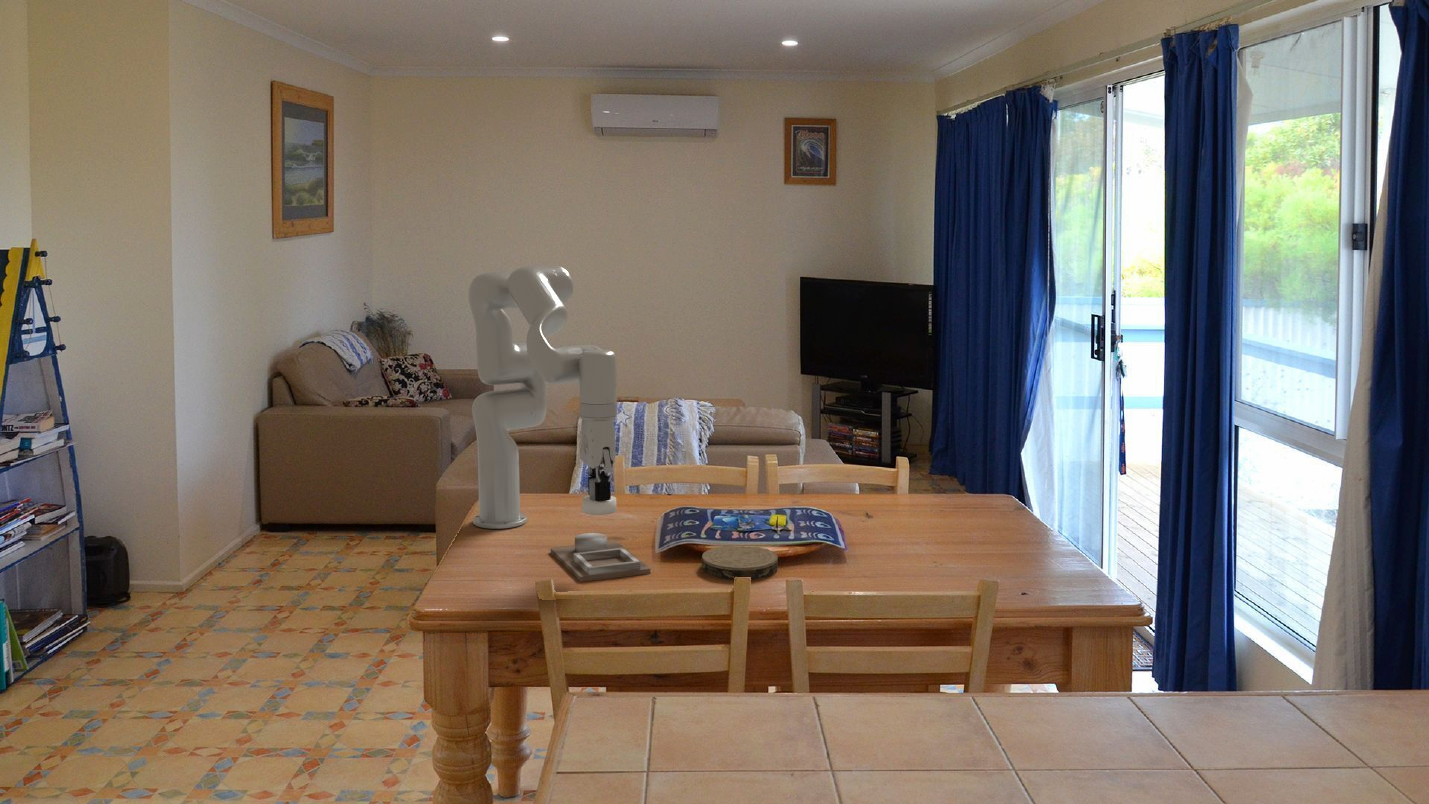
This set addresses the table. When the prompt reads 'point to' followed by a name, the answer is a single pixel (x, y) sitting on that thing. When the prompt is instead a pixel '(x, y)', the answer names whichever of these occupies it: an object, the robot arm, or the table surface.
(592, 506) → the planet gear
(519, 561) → the table surface
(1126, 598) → the table surface
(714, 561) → the grey brown round disc
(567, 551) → the carrier board
